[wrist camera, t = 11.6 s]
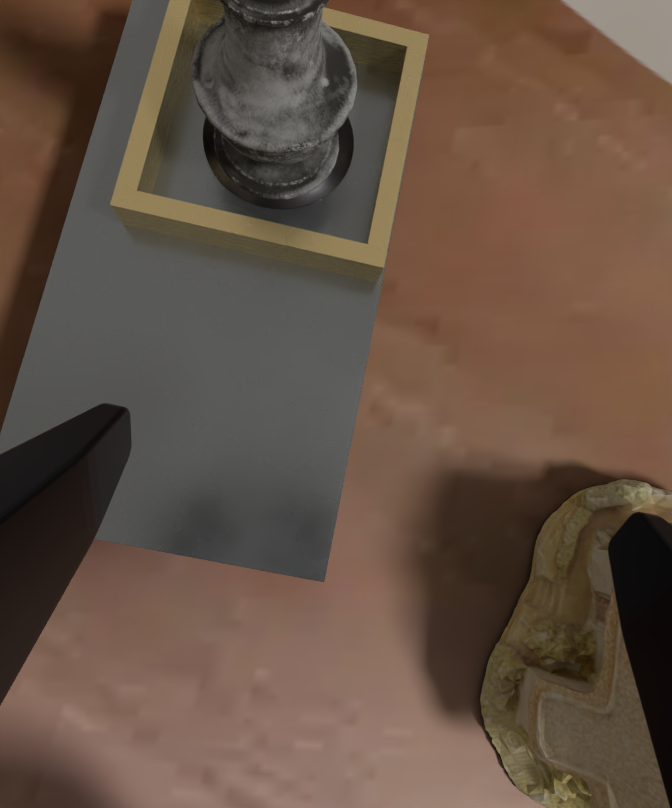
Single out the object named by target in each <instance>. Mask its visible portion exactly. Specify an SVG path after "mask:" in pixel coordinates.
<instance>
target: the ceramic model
mask: <svg viewBox="0 0 672 808" xmlns="http://www.w3.org/2000/svg"><path fill="white" fill-rule="evenodd" d="M635 512H644V513H649V514H654V515H658V516H660V517H662V518H663V519H665V520H666V521H667V522H668V523H669V524H671V525H672V491H671V490H664V489H659V488H655V487H652V486H650V485H649V484H648V483H645V482H640V481H636V480H628V479H621V480H617V481H614V482H611V483H608V484H605V485H599V486H595V487H590V488H587V489H584V490H581V491H579V492H577V493H576V494H574V495H572V496H571V497H570V498H569V499H568V500H567V501H565V502H564V503H563V504H562V505H561V507H560V508H559V509H558V510H557V511H556V512H554V513H553V514H551V516H550V517H549V518H548V519H547V521H546V522H545V523H544V525H543V527H542V529H541V531H540V533H539V535H538V537H537V540H536V544H535V548H534V555H533V562H532V570H531V575H530V579H529V581H528V583H527V586H526V588H525V590H524V591H523V593H522V594H521V596H520V598H519V601H518V604H517V607H516V608H515V610H514V612H513V615H512V618H511V619H510V621H509V623H508V626H507V627H506V628H505V630H504V632H503V634H502V636H501V638H500V641H499V642H498V643H497V644H496V646H495V648H494V650H493V652H492V654H491V656H490V658H489V661H488V664H487V669H486V674H485V679H484V682H483V687H482V692H481V697H480V703H481V712H482V716H483V719H484V725H485V729H486V731H488V732H489V734H490V736H491V737H492V743H493V744H494V746H495V747H496V749H497V751H498V752H499V754H500V756H501V759H502V763H503V766H504V768H505V769H506V771H507V772H508V774H509V777H510V778H511V779H512V780H513V782H514V783H515V785H516V786H517V788H518V789H519V790H521V791H523V792H524V793H525V794H526V795H529V797H530V798H532V799H533V800H534V801H536V802H538V803H540V804H541V805H543V806H545V807H547V808H670V807H669V803H668V799H667V796H666V792H665V789H664V785H663V781H662V778H661V774H660V770H659V767H658V763H657V759H656V756H655V752H654V749H653V745H652V741H651V738H650V734H649V730H648V727H647V723H646V720H645V716H644V712H643V709H642V705H641V701H640V698H639V694H638V691H637V687H636V683H635V680H634V676H633V672H632V669H631V665H630V662H629V658H628V654H627V651H626V647H625V643H624V639H623V635H622V631H621V625H620V620H619V615H618V609H617V603H616V597H615V591H614V585H613V579H612V573H611V567H610V561H609V555H608V545H609V542H610V539H611V538H612V537H613V535H614V534H615V533H616V532H617V531H618V529H619V528H620V527H621V526H622V525H623V523H624V522H625V521H626V520H627V519H628V517H629V516H630V515H631V514H633V513H635Z"/></svg>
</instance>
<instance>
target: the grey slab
mask: <svg viewBox="0 0 672 808" xmlns="http://www.w3.org/2000/svg"><path fill="white" fill-rule="evenodd" d="M223 16H224V7H223V4H222V3H221V2H220V0H132V4H131V7H130V10H129V13H128V17H127V20H126V23H125V27H124V30H123V33H122V36H121V40H120V43H119V46H118V49H117V53H116V56H115V59H114V63H113V66H112V69H111V72H110V76H109V79H108V82H107V86H106V89H105V92H104V95H103V99H102V102H101V105H100V108H99V112H98V115H97V118H96V122H95V125H94V128H93V131H92V135H91V138H90V141H89V144H88V148H87V151H86V154H85V158H84V161H83V164H82V167H81V171H80V174H79V177H78V181H77V184H76V187H75V190H74V194H73V197H72V200H71V203H70V207H69V210H68V213H67V217H66V220H65V223H64V226H63V230H62V233H61V236H60V239H59V243H58V246H57V249H56V253H55V256H54V259H53V262H52V266H51V269H50V272H49V275H48V279H47V282H46V285H45V289H44V292H43V295H42V298H41V302H40V305H39V308H38V312H37V315H36V318H35V321H34V325H33V328H32V331H31V334H30V338H29V341H28V344H27V348H26V351H25V354H24V357H23V361H22V364H21V367H20V370H19V374H18V377H17V380H16V384H15V387H14V390H13V393H12V397H11V400H10V403H9V407H8V410H7V413H6V416H5V420H4V423H3V426H2V429H1V433H0V454H2V453H4V452H6V451H8V450H10V449H12V448H14V447H16V446H18V445H20V444H22V443H24V442H26V441H28V440H30V439H32V438H34V437H36V436H38V435H40V434H42V433H44V432H46V431H48V430H50V429H52V428H54V427H56V426H58V425H60V424H62V423H64V422H66V421H68V420H70V419H72V418H74V417H75V416H77V415H79V414H81V413H83V412H85V411H87V410H89V409H91V408H93V407H95V406H97V405H100V404H102V403H109V404H114V405H119V406H124V407H126V408H128V409H129V412H130V417H131V438H132V446H131V452H130V456H129V458H128V461H127V463H126V466H125V468H124V470H123V473H122V475H121V478H120V480H119V482H118V485H117V487H116V490H115V492H114V494H113V497H112V499H111V502H110V504H109V506H108V509H107V511H106V514H105V516H104V518H103V521H102V523H101V525H100V528H99V530H98V532H97V534H96V536H95V538H94V539H97V540H103V541H108V542H113V543H119V544H124V545H129V546H135V547H140V548H145V549H151V550H156V551H161V552H166V553H172V554H177V555H182V556H188V557H193V558H198V559H204V560H209V561H214V562H220V563H225V564H230V565H236V566H241V567H246V568H251V569H257V570H262V571H267V572H273V573H278V574H283V575H289V576H294V577H299V578H305V579H310V580H315V581H321V582H324V580H325V575H326V570H327V565H328V559H329V554H330V549H331V544H332V539H333V534H334V528H335V523H336V518H337V513H338V508H339V503H340V497H341V492H342V487H343V482H344V477H345V472H346V466H347V461H348V456H349V451H350V446H351V441H352V435H353V430H354V425H355V420H356V415H357V410H358V404H359V399H360V394H361V389H362V384H363V379H364V373H365V368H366V363H367V358H368V353H369V348H370V342H371V337H372V332H373V327H374V322H375V317H376V311H377V306H378V301H379V296H380V291H381V286H382V280H383V275H384V270H385V265H386V260H387V255H388V249H389V244H390V239H391V234H392V229H393V224H394V218H395V213H396V208H397V203H398V198H399V193H400V187H401V182H402V177H403V172H404V167H405V162H406V156H407V151H408V146H409V141H410V136H411V131H412V125H413V120H414V115H415V110H416V105H417V100H418V94H419V89H420V84H421V79H422V74H423V69H424V63H425V61H424V59H425V54H426V48H427V43H428V38H429V35H428V34H424V33H420V32H416V31H412V30H409V29H405V28H401V27H397V26H393V25H389V24H386V23H382V22H378V21H374V20H370V19H366V18H363V17H359V16H355V15H351V14H347V13H343V12H340V11H336V10H332V9H328V8H323V13H322V21H324V22H325V23H326V24H327V25H328V26H329V27H330V28H332V29H333V30H334V31H335V32H336V33H337V34H338V35H339V36H340V38H341V39H342V41H343V42H344V44H345V45H346V46H347V48H348V49H349V51H350V54H351V57H352V59H353V62H354V65H355V68H356V78H357V91H356V96H355V100H354V104H353V108H352V110H351V112H350V114H349V115H348V117H347V119H346V121H345V122H344V124H343V125H342V126H341V127H340V128H339V129H338V130H337V131H338V137H339V152H338V156H337V160H336V164H335V166H334V168H333V170H332V171H331V173H330V175H329V177H328V178H327V179H326V180H325V181H324V182H323V183H322V184H321V185H320V186H319V187H318V188H316V189H314V190H312V191H310V192H309V193H307V194H305V195H302V196H298V197H294V198H290V199H269V198H265V197H261V196H257V195H254V194H252V193H250V192H248V191H246V190H244V189H242V188H240V187H239V186H238V185H237V184H236V183H235V182H234V181H232V180H231V179H230V178H229V177H228V176H227V174H226V173H225V171H224V170H223V168H222V167H221V165H220V164H219V161H218V158H217V155H216V152H215V149H214V128H215V127H214V126H213V125H212V124H211V123H210V122H209V120H208V119H207V117H206V116H205V114H204V113H203V111H202V110H201V108H200V107H199V105H198V103H197V100H196V96H195V93H194V90H193V87H192V79H191V63H192V60H193V56H194V53H195V50H196V46H197V44H198V43H199V41H200V40H201V38H202V37H203V35H204V34H205V32H206V31H207V29H208V28H209V27H211V26H212V25H213V24H214V23H215V22H217V21H218V20H219V19H220V18H221V17H223Z"/></svg>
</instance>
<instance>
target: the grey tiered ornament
mask: <svg viewBox="0 0 672 808" xmlns="http://www.w3.org/2000/svg"><path fill="white" fill-rule="evenodd" d="M220 2H221V3H222V4H223V7H224V16H223V17H221V18H220V19H219V20H218V21H217V22H215V23H214V24H213V25H212V26H211V27H209V28H208V29H207V31H206V32H205V34H204V35H203V37H202V38H201V40H200V41H199V43H198V44H197V46H196V50H195V53H194V56H193V60H192V63H191V79H192V87H193V90H194V93H195V96H196V100H197V103H198V105H199V107H200V108H201V110H202V111H203V113H204V114H205V116H206V117H207V119H208V120H209V122H210V123H211V124H212V125H213V126H214V127H215V128H214V149H215V152H216V155H217V158H218V161H219V164H220V165H221V167H222V168H223V170H224V171H225V173H226V174H227V176H228V177H229V178H230V179H231V180H232V181H234V182H235V183H236V184H237V185H238V186H239V187H240V188H242V189H244V190H246V191H248V192H250V193H252V194H254V195H257V196H261V197H265V198H269V199H290V198H294V197H298V196H302V195H305V194H307V193H309V192H310V191H312V190H314V189H316V188H318V187H319V186H320V185H321V184H322V183H323V182H324V181H325V180H326V179H327V178H328V177H329V175H330V173H331V171H332V170H333V168H334V166H335V164H336V160H337V156H338V152H339V137H338V131H337V130H338V129H339V128H340V127H341V126H342V125H343V124H344V122H345V121H346V119H347V117H348V115H349V114H350V112H351V110H352V108H353V104H354V100H355V96H356V91H357V78H356V68H355V65H354V62H353V59H352V57H351V54H350V51H349V49H348V48H347V46H346V45H345V44H344V42H343V41H342V39H341V38H340V36H339V35H338V34H337V33H336V32H335V31H334V30H333V29H332V28H330V27H329V26H328V25H327V24H326V23H325V22H324V21H322V13H323V8H324V7H325V5H326V4H327V2H328V0H220Z"/></svg>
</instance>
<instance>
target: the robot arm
mask: <svg viewBox="0 0 672 808" xmlns="http://www.w3.org/2000/svg"><path fill="white" fill-rule="evenodd" d="M131 446H132V438H131V417H130V412H129V409H128V408H126V407H124V406H119V405H114V404H109V403H102V404H100V405H97V406H95V407H93V408H91V409H89V410H87V411H85V412H83V413H81V414H79V415H77V416H75V417H74V418H72V419H70V420H68V421H66V422H64V423H62V424H60V425H58V426H56V427H54V428H52V429H50V430H48V431H46V432H44V433H42V434H40V435H38V436H36V437H34V438H32V439H30V440H28V441H26V442H24V443H22V444H20V445H18V446H16V447H14V448H12V449H10V450H8V451H6V452H4V453H2V454H0V705H1V703H2V702H3V700H4V698H5V696H6V695H7V693H8V691H9V689H10V687H11V686H12V684H13V682H14V680H15V679H16V677H17V675H18V673H19V672H20V670H21V668H22V666H23V664H24V663H25V661H26V659H27V657H28V656H29V654H30V652H31V650H32V648H33V647H34V645H35V643H36V641H37V640H38V638H39V636H40V634H41V633H42V631H43V629H44V627H45V625H46V624H47V622H48V620H49V618H50V617H51V615H52V613H53V611H54V610H55V608H56V606H57V604H58V602H59V601H60V599H61V597H62V595H63V594H64V592H65V590H66V588H67V586H68V585H69V583H70V581H71V579H72V578H73V576H74V574H75V572H76V571H77V569H78V567H79V565H80V563H81V562H82V560H83V558H84V556H85V555H86V553H87V551H88V549H89V547H90V546H91V544H92V542H93V540H94V538H95V536H96V534H97V532H98V530H99V528H100V525H101V523H102V521H103V518H104V516H105V514H106V511H107V509H108V506H109V504H110V502H111V499H112V497H113V494H114V492H115V490H116V487H117V485H118V482H119V480H120V478H121V475H122V473H123V470H124V468H125V466H126V463H127V461H128V458H129V456H130V452H131ZM608 555H609V561H610V567H611V573H612V579H613V585H614V591H615V597H616V603H617V609H618V615H619V620H620V625H621V631H622V635H623V639H624V643H625V647H626V651H627V654H628V658H629V662H630V665H631V669H632V672H633V676H634V680H635V683H636V687H637V691H638V694H639V698H640V701H641V705H642V709H643V712H644V716H645V720H646V723H647V727H648V730H649V734H650V738H651V741H652V745H653V749H654V752H655V756H656V759H657V763H658V767H659V770H660V774H661V778H662V781H663V785H664V789H665V792H666V796H667V799H668V803H669V807H670V808H672V525H671V524H669V523H668V522H667V521H666V520H665V519H663V518H662V517H660V516H658V515H654V514H649V513H644V512H635V513H633V514H631V515H630V516H629V517H628V519H627V520H626V521H625V522H624V523H623V525H622V526H621V527H620V528H619V529H618V531H617V532H616V533H615V534H614V535H613V537H612V538H611V539H610V542H609V545H608Z"/></svg>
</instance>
